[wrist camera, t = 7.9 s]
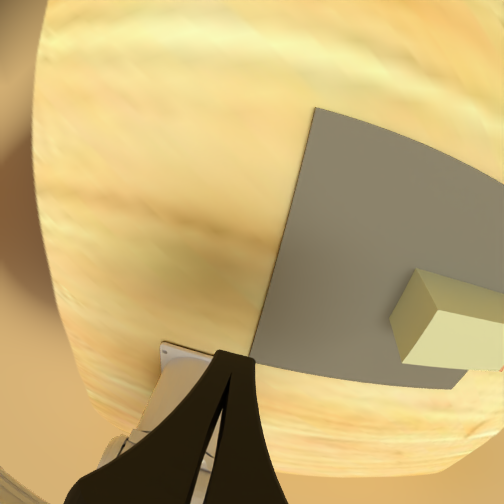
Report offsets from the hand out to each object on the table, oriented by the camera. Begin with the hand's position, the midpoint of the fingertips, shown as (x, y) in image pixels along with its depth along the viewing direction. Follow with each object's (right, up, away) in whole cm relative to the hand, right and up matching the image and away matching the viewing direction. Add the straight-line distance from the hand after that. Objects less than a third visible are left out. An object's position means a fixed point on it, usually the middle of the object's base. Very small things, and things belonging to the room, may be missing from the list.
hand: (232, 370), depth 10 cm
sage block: (+11, 0, +7) cm, 13 cm away
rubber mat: (+13, +1, +9) cm, 16 cm away
